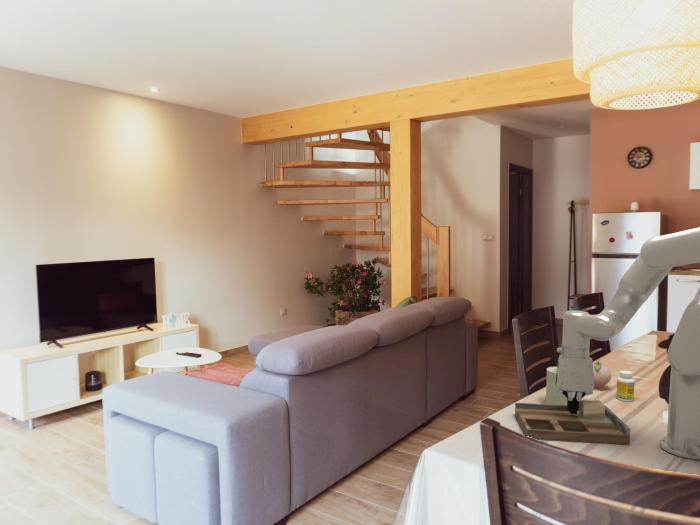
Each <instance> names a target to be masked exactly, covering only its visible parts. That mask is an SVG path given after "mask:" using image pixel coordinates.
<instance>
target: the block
mask: <svg viewBox="0 0 700 525" xmlns="http://www.w3.org/2000/svg"><path fill="white" fill-rule="evenodd" d="M605 406H606V405H605V404H604V403H603V402H602V401H601V400H600V399H599V398H584V397H583V398H582V399H581V401H579V411H577V413H578V414H579V415H580V416H581V417H582V419H584V420H604V421H605Z"/></svg>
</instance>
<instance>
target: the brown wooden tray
mask: <svg viewBox="0 0 700 525" xmlns="http://www.w3.org/2000/svg"><path fill="white" fill-rule="evenodd" d="M514 404H515V406H514V407H515V408H514V417H515V419H516V420H517V422H518V423H519V426H520V428H521V430H522V432H523V433H524V436H525V437H526V436H529V437H532V438H535V439H534V440H541V441H556V442H557V441H559V442H576V443H592V444H593V443H594V444H609V445H627V446H628V445H629V446H630V445H631V444H630V441H631V428H630V427H629V426H628V425H627V424H626V423H625V422H624V421H623V420H622V419H621V418H620V417H618V415H616V414H615V413H614V411H612V410H611V408H609V407H608V406H607V405H605V421H604V420H584V419H582V417H581V416H580V415H579V414H578V413H577V414H571V413H570V412H569V410H567V405H551V404H546V403H529V402H515V403H514Z"/></svg>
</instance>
